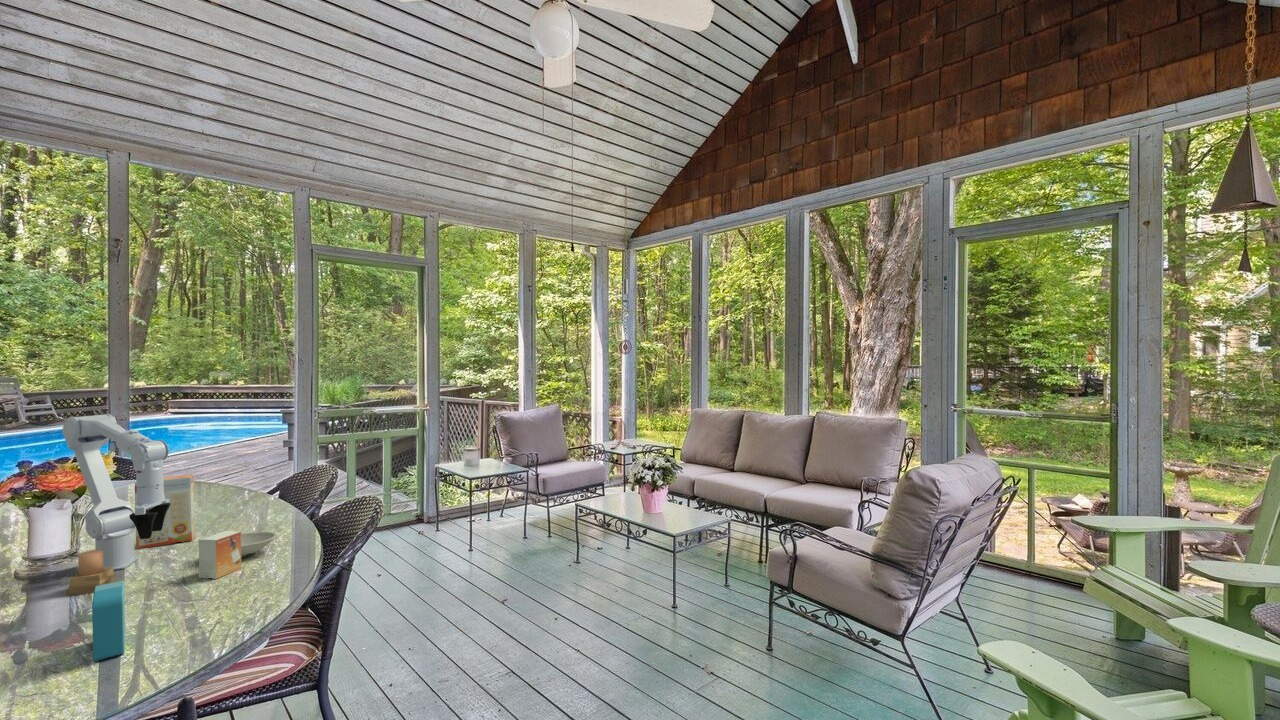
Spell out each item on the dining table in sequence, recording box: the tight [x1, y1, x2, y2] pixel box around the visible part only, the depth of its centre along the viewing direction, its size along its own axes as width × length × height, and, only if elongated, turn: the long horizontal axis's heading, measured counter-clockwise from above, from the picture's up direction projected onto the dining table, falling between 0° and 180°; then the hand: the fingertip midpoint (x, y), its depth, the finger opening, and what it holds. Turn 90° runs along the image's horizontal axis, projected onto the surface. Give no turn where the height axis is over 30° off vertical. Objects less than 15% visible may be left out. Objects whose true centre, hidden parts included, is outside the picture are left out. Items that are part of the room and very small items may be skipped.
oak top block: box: [69, 567, 115, 588], centre depth 148 cm, size 6×6×2 cm
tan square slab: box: [65, 574, 116, 597], centre depth 148 cm, size 7×7×2 cm
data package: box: [91, 580, 126, 662], centre depth 117 cm, size 12×4×12 cm, turn 41°
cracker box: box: [134, 474, 196, 550], centre depth 184 cm, size 14×6×21 cm, turn 121°
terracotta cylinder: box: [77, 549, 103, 576], centre depth 148 cm, size 5×5×5 cm
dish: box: [241, 531, 278, 558], centre depth 171 cm, size 18×14×5 cm
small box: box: [198, 530, 242, 580], centre depth 157 cm, size 8×6×10 cm
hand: (151, 534), depth 159 cm, fingers open, 7 cm apart
